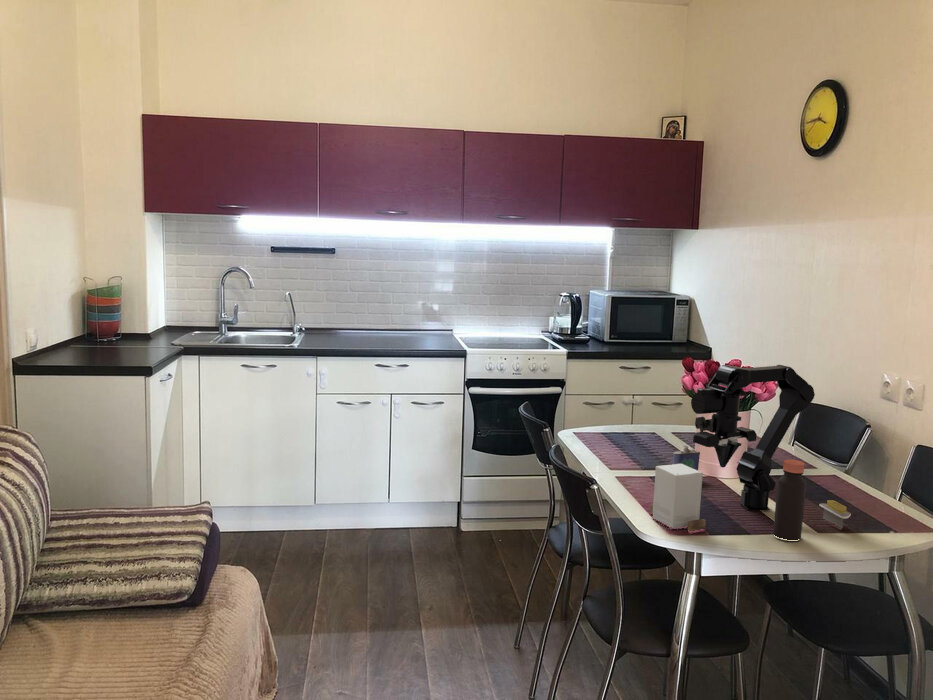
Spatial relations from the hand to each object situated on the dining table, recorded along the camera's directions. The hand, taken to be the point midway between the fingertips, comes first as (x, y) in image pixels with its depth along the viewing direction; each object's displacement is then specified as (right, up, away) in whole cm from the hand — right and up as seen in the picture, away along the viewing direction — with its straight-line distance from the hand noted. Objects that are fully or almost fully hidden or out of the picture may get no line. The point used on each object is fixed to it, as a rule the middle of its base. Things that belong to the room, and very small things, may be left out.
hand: (722, 466), depth 220 cm
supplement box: (-15, -14, -8) cm, 22 cm away
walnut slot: (-15, -14, -7) cm, 21 cm away
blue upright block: (-2, -9, +31) cm, 32 cm away
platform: (+28, -16, -6) cm, 33 cm away
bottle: (+12, -16, -15) cm, 25 cm away
